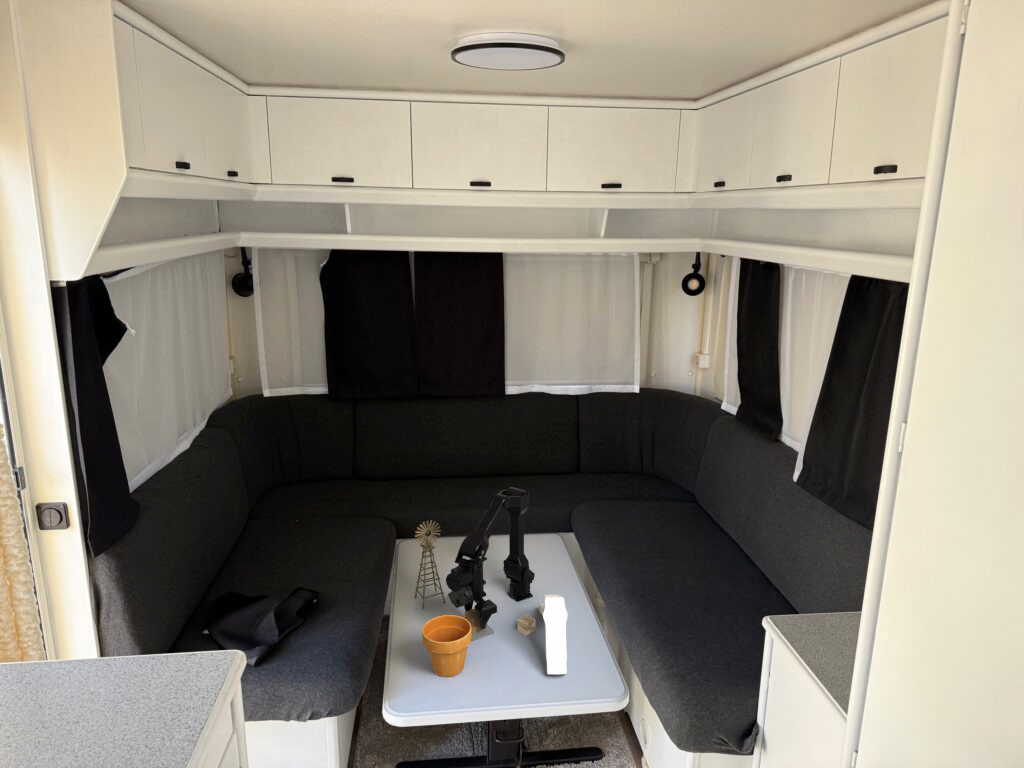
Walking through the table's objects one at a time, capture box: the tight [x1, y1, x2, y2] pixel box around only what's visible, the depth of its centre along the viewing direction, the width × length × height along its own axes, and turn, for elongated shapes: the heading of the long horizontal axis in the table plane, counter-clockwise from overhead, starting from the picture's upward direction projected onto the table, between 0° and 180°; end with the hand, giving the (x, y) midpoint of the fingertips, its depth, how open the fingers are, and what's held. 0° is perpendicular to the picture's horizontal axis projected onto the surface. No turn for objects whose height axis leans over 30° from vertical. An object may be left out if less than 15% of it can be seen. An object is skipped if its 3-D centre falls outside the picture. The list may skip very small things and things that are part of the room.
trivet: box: [471, 623, 495, 642], centre depth 221 cm, size 8×10×1 cm
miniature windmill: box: [414, 519, 446, 610], centre depth 235 cm, size 9×8×30 cm
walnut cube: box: [464, 608, 486, 633], centre depth 220 cm, size 5×5×5 cm
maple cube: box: [517, 614, 536, 637], centre depth 220 cm, size 4×4×4 cm
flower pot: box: [421, 614, 472, 678], centre depth 201 cm, size 14×14×13 cm
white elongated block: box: [538, 594, 568, 675], centre depth 214 cm, size 7×33×21 cm, turn 1°
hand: (475, 622), depth 221 cm, fingers open, 9 cm apart
